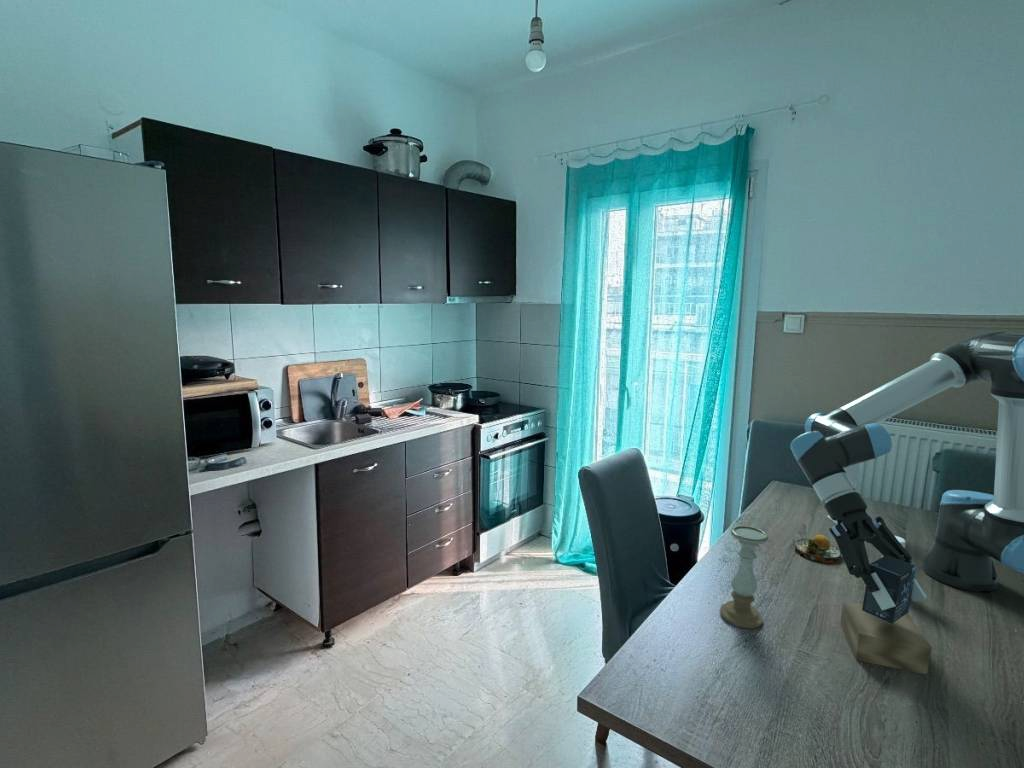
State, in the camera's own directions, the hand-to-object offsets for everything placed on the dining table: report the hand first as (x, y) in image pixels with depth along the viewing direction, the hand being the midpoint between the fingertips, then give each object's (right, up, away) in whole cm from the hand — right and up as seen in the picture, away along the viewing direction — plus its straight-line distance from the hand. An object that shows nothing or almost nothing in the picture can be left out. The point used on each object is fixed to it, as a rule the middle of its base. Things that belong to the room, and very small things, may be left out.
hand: (904, 603), depth 105 cm
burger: (+9, -5, +46) cm, 47 cm away
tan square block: (-1, -12, +5) cm, 13 cm away
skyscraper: (+30, -2, +68) cm, 74 cm away
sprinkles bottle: (+16, -8, +28) cm, 34 cm away
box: (-1, -3, +4) cm, 5 cm away
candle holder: (-26, -9, +15) cm, 31 cm away
